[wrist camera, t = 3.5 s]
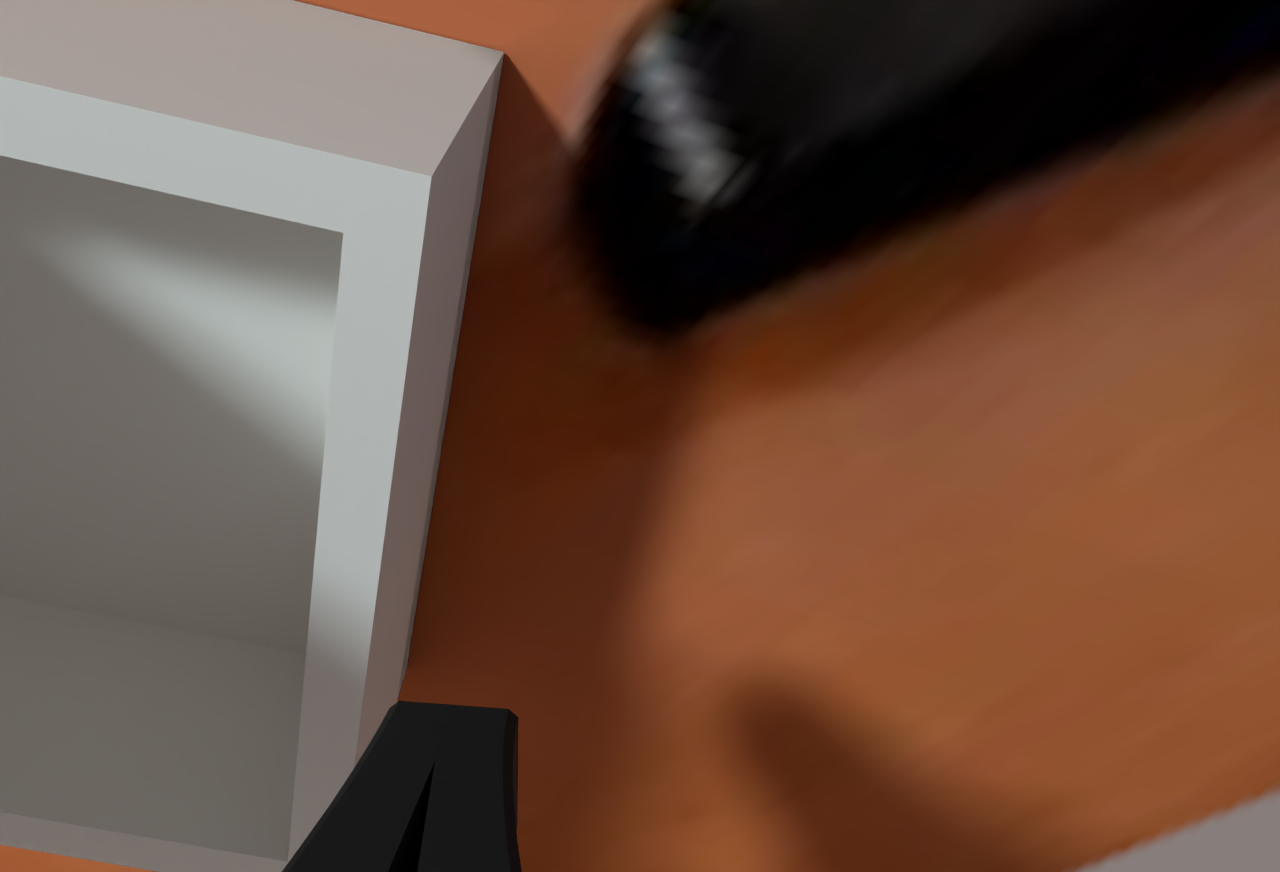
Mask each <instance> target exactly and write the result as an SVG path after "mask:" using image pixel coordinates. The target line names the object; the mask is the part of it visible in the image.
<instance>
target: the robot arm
mask: <svg viewBox="0 0 1280 872" xmlns="http://www.w3.org/2000/svg"><path fill="white" fill-rule="evenodd" d="M517 788H518V717H517V716H516V715H515V714H514V713H512V712H511V711H510V710H509V709H500V708H486V707H473V706H460V705H446V704H433V703H419V702H406V701H399V702H397V703H396V704H394V705H393V706H391V707H390V708H389V710H388V712H387V713H386V715H385V717H384V719H383V721H382V723H381V724H380V726H379V728H378V730H377V731H376V733H375V735H374V737H373V738H372V740H371V742H370V743H369V745H368V747H367V748H366V750H365V752H364V753H363V755H362V756H361V758H360V760H359V761H358V763H357V764H356V766H355V768H354V769H353V771H352V772H351V774H350V775H349V777H348V778H347V780H346V781H345V783H344V784H343V786H342V787H341V789H340V790H339V792H338V793H337V795H336V796H335V798H334V799H333V801H332V802H331V804H330V805H329V807H328V808H327V810H326V811H325V812H324V814H323V815H322V817H321V818H320V819H319V821H318V822H317V824H316V825H315V826H314V828H313V829H312V831H311V832H310V833H309V835H308V836H307V838H306V839H305V840H304V842H303V843H302V845H301V846H300V847H299V849H298V850H297V851H296V853H295V854H294V856H293V857H292V858H291V860H290V861H289V863H288V864H287V865H286V866H285V868H284V869H283V870H282V872H521V864H520V857H519V850H518V843H517V834H516V829H517Z"/></svg>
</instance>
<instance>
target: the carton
mask: <svg viewBox="0 0 1280 872" xmlns="http://www.w3.org/2000/svg"><path fill="white" fill-rule="evenodd" d="M503 57H504V52H502V51H498V50H494V49H490V48H486V47H482V46H477V45H473V44H469V43H465V42H461V41H457V40H453V39H449V38H445V37H441V36H437V35H433V34H428V33H424V32H420V31H416V30H412V29H408V28H404V27H400V26H396V25H392V24H388V23H383V22H379V21H375V20H371V19H367V18H363V17H359V16H355V15H351V14H347V13H343V12H338V11H334V10H330V9H326V8H322V7H318V6H314V5H310V4H306V3H302V2H298V1H293V0H0V845H6V846H11V847H17V848H23V849H29V850H35V851H41V852H47V853H52V854H58V855H64V856H70V857H76V858H82V859H87V860H93V861H99V862H105V863H111V864H117V865H123V866H128V867H134V868H140V869H146V870H152V871H158V872H282V870H283V869H284V868H285V866H286V865H287V864H288V863H289V861H290V860H291V858H292V857H293V856H294V854H295V853H296V851H297V850H298V849H299V847H300V846H301V845H302V843H303V842H304V840H305V839H306V838H307V836H308V835H309V833H310V832H311V831H312V829H313V828H314V826H315V825H316V824H317V822H318V821H319V819H320V818H321V817H322V815H323V814H324V812H325V811H326V810H327V808H328V807H329V805H330V804H331V802H332V801H333V799H334V798H335V796H336V795H337V793H338V792H339V790H340V789H341V787H342V786H343V784H344V783H345V781H346V780H347V778H348V777H349V775H350V774H351V772H352V771H353V769H354V768H355V766H356V764H357V763H358V761H359V760H360V758H361V756H362V755H363V753H364V752H365V750H366V748H367V747H368V745H369V743H370V742H371V740H372V738H373V737H374V735H375V733H376V731H377V730H378V728H379V726H380V724H381V723H382V721H383V719H384V717H385V715H386V713H387V712H388V710H389V708H390V707H391V706H393V705H394V704H396V703H397V700H398V697H399V694H400V690H401V687H402V684H403V680H404V677H405V674H406V669H407V663H408V657H409V650H410V644H411V638H412V631H413V625H414V619H415V613H416V606H417V600H418V594H419V587H420V581H421V575H422V568H423V562H424V556H425V549H426V543H427V537H428V530H429V524H430V518H431V512H432V505H433V499H434V493H435V486H436V480H437V474H438V467H439V461H440V455H441V448H442V442H443V436H444V429H445V423H446V417H447V411H448V404H449V398H450V392H451V385H452V379H453V373H454V366H455V360H456V354H457V347H458V341H459V335H460V328H461V322H462V316H463V310H464V303H465V297H466V291H467V284H468V278H469V272H470V265H471V259H472V253H473V246H474V240H475V234H476V227H477V221H478V215H479V208H480V202H481V196H482V190H483V183H484V177H485V171H486V164H487V158H488V152H489V145H490V139H491V133H492V126H493V120H494V114H495V107H496V101H497V95H498V89H499V82H500V76H501V70H502V63H503Z"/></svg>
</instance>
